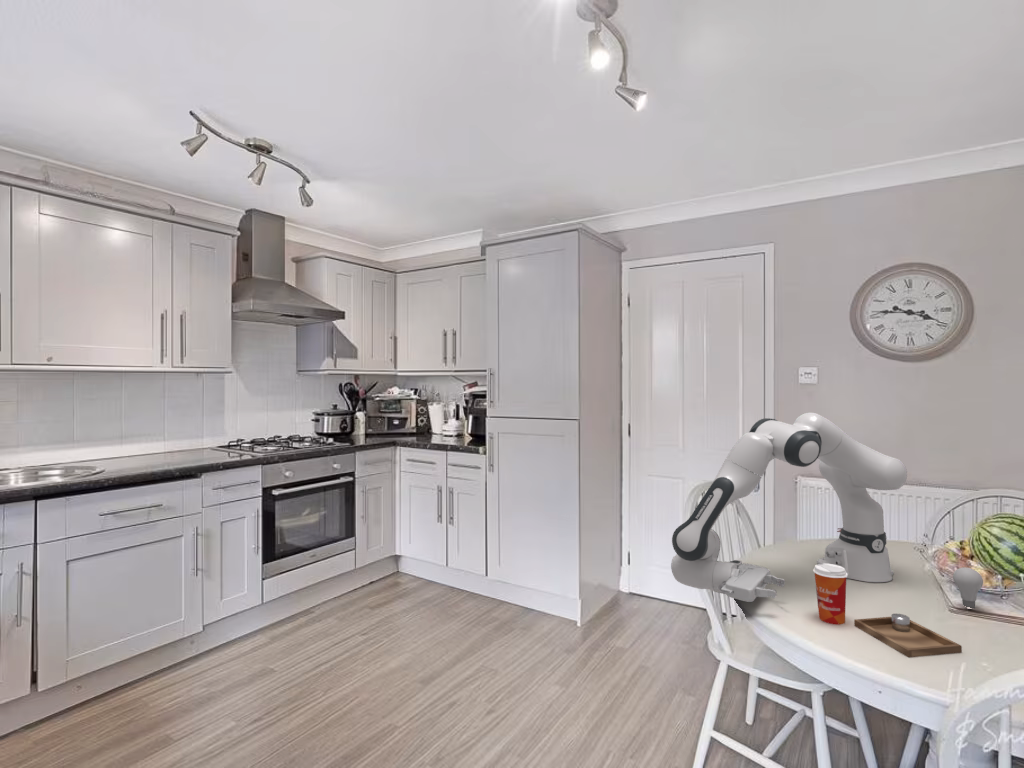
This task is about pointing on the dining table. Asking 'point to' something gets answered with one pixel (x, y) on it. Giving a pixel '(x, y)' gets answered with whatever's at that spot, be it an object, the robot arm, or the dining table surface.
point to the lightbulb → (968, 585)
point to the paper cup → (831, 592)
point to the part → (900, 622)
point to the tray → (908, 638)
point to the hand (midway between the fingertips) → (780, 588)
